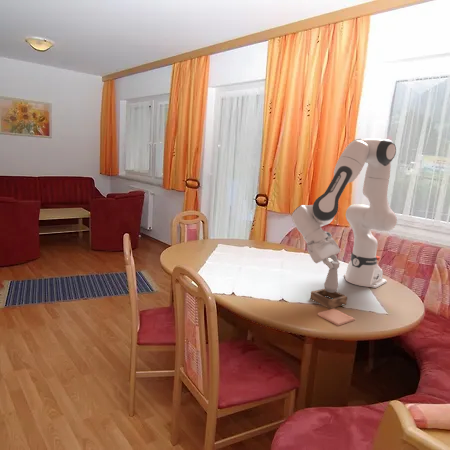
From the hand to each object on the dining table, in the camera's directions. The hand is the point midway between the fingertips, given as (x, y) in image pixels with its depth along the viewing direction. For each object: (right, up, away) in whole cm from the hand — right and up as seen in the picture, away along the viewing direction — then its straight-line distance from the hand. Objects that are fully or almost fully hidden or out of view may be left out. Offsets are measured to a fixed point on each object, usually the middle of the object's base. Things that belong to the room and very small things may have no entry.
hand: (335, 266), depth 158 cm
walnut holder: (-2, -16, +4) cm, 16 cm away
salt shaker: (-1, -11, +3) cm, 11 cm away
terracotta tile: (-3, -19, -12) cm, 22 cm away
